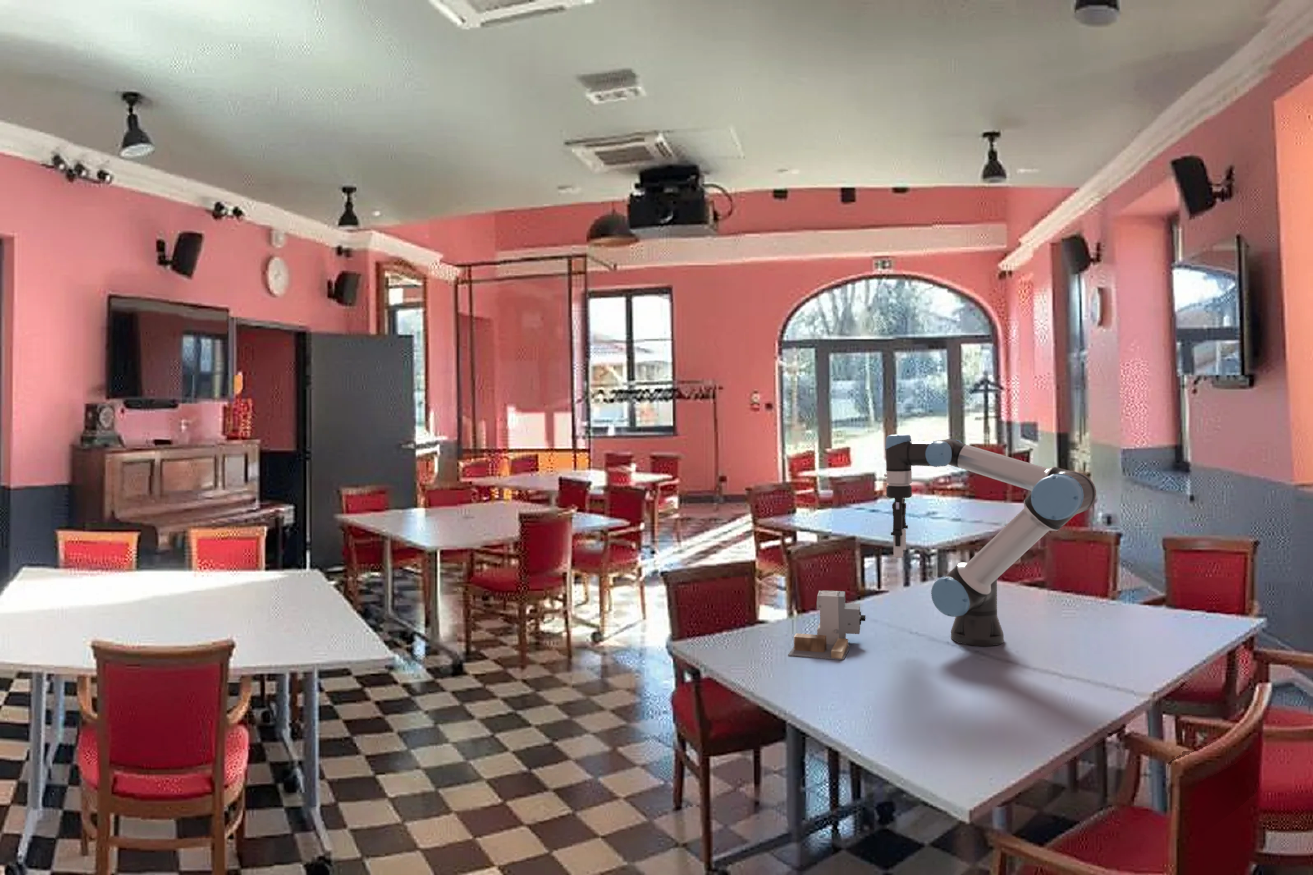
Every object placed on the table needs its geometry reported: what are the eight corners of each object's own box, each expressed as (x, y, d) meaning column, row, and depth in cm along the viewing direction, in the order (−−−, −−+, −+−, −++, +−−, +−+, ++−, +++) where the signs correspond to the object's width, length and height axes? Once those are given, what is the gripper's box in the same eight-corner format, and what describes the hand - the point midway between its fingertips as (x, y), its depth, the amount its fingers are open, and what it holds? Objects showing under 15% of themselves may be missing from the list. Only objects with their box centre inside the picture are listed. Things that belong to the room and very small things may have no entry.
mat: (849, 647, 254) (849, 645, 254) (843, 660, 241) (843, 658, 241) (797, 643, 259) (797, 641, 259) (788, 655, 246) (788, 654, 246)
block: (826, 635, 251) (796, 633, 254) (824, 638, 247) (793, 636, 250) (826, 648, 251) (796, 646, 254) (824, 652, 247) (793, 650, 251)
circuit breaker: (865, 646, 254) (864, 597, 253) (817, 644, 258) (816, 595, 257) (866, 640, 261) (865, 592, 261) (819, 638, 265) (818, 590, 264)
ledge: (848, 645, 254) (848, 639, 254) (841, 658, 241) (841, 651, 241) (838, 644, 255) (838, 638, 255) (831, 657, 242) (831, 650, 242)
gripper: (889, 481, 273) (890, 546, 273) (882, 488, 249) (883, 559, 250) (913, 481, 270) (914, 547, 271) (909, 488, 247) (910, 560, 247)
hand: (900, 553), depth 260 cm, fingers open, 13 cm apart
